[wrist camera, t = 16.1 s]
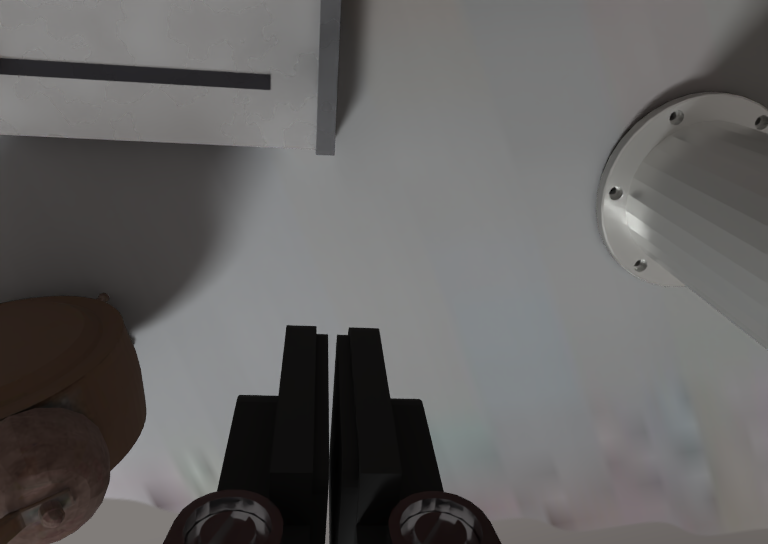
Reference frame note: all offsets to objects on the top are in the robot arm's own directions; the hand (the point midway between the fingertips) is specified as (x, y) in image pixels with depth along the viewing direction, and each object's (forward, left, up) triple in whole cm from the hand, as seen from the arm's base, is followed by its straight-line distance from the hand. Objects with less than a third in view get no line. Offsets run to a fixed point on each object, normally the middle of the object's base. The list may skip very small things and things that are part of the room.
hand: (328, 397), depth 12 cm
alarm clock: (+16, +14, -29) cm, 36 cm away
